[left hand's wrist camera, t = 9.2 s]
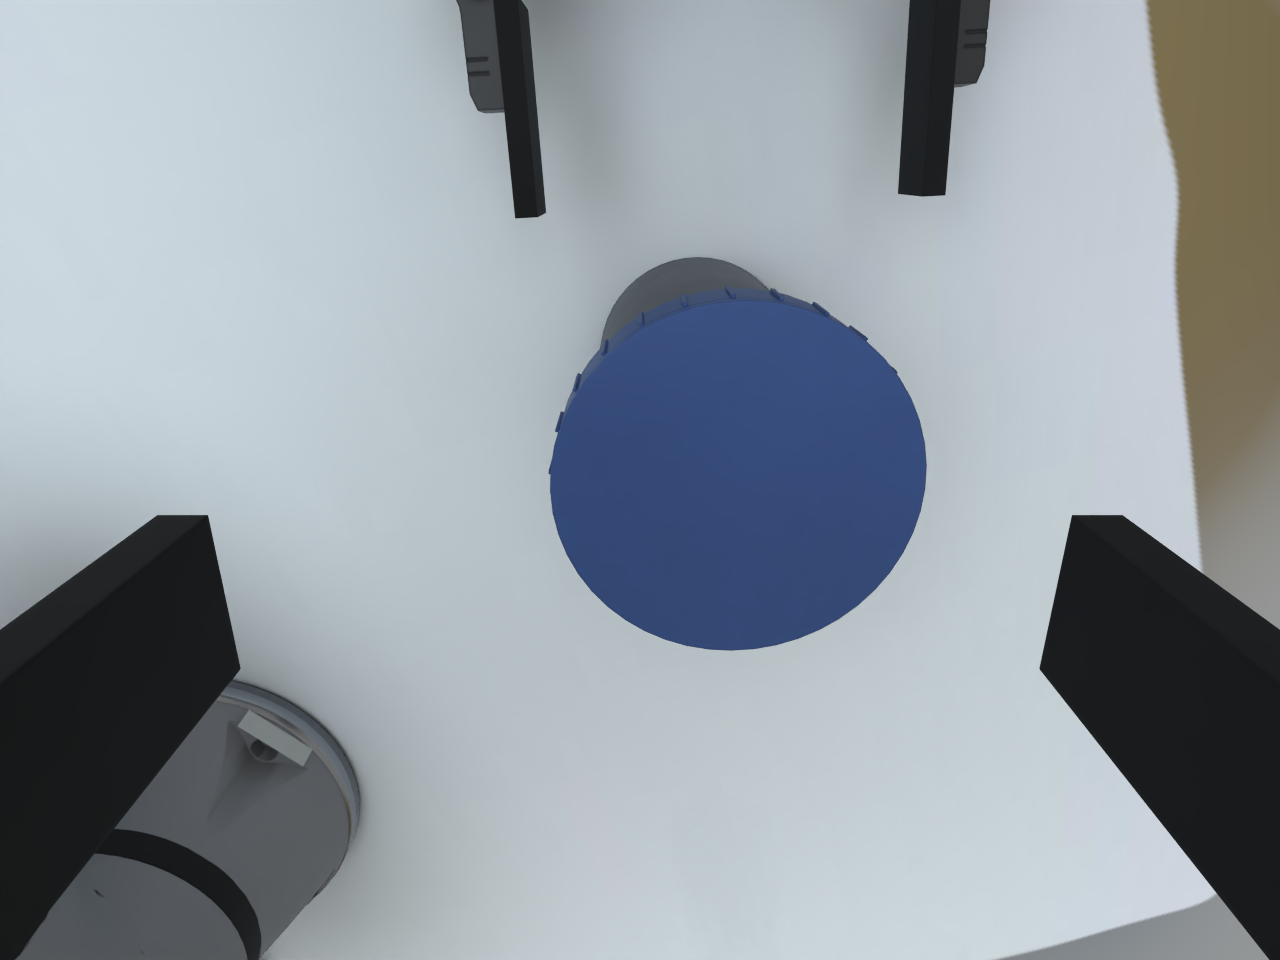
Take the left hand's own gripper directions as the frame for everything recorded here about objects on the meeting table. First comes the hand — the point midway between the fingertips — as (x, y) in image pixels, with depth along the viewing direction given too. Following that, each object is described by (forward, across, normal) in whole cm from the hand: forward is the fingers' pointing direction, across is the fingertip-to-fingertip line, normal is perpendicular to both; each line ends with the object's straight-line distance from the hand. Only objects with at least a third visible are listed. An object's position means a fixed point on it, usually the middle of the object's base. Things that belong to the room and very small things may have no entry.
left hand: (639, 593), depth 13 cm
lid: (+9, +3, -2) cm, 9 cm away
